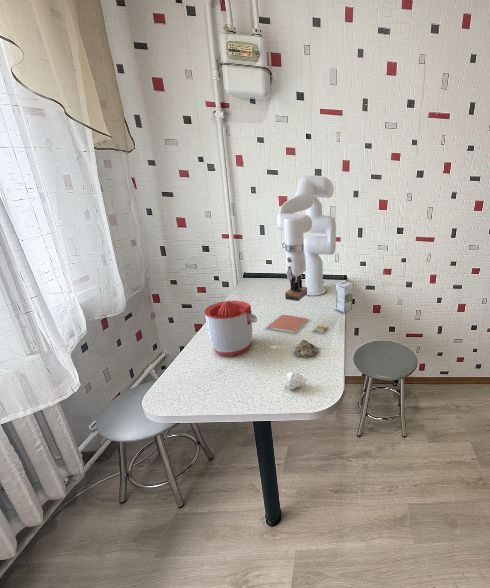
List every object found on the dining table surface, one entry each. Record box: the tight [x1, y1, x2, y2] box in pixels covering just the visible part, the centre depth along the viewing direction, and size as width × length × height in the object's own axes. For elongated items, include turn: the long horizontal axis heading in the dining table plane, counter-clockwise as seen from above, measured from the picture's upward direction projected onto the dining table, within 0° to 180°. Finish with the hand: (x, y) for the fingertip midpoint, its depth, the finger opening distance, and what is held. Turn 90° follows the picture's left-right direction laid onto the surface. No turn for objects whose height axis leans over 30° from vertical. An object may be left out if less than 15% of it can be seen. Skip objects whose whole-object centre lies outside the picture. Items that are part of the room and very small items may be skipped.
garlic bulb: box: [286, 371, 308, 390], centre depth 106 cm, size 6×6×5 cm
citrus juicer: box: [203, 300, 258, 357], centre depth 123 cm, size 16×17×20 cm
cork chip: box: [314, 324, 328, 332], centre depth 144 cm, size 4×4×2 cm
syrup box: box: [335, 280, 354, 314], centre depth 162 cm, size 6×6×14 cm
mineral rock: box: [295, 339, 318, 358], centre depth 127 cm, size 11×4×8 cm
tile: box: [267, 314, 309, 332], centre depth 147 cm, size 13×13×1 cm
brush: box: [284, 276, 307, 302], centre depth 143 cm, size 9×6×9 cm, turn 168°
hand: (296, 288), depth 143 cm, fingers closed on brush, 3 cm apart
